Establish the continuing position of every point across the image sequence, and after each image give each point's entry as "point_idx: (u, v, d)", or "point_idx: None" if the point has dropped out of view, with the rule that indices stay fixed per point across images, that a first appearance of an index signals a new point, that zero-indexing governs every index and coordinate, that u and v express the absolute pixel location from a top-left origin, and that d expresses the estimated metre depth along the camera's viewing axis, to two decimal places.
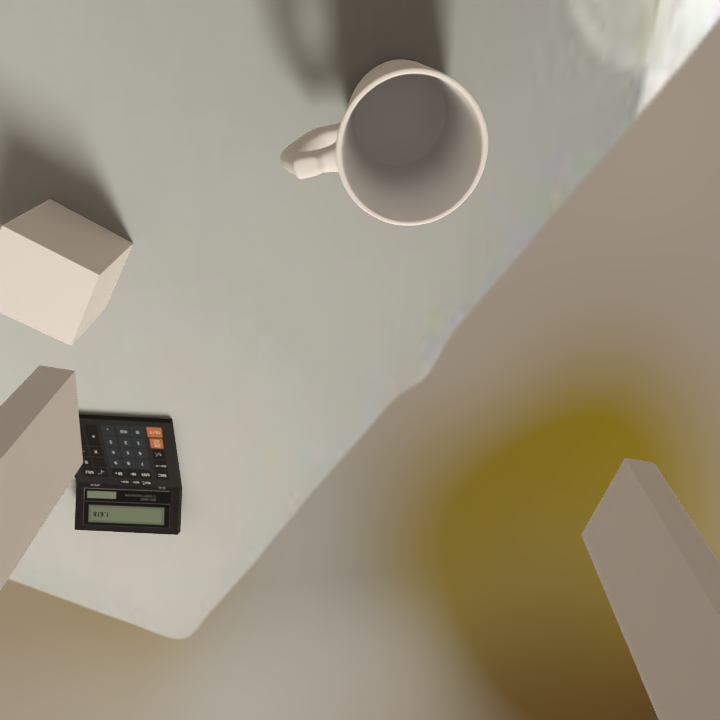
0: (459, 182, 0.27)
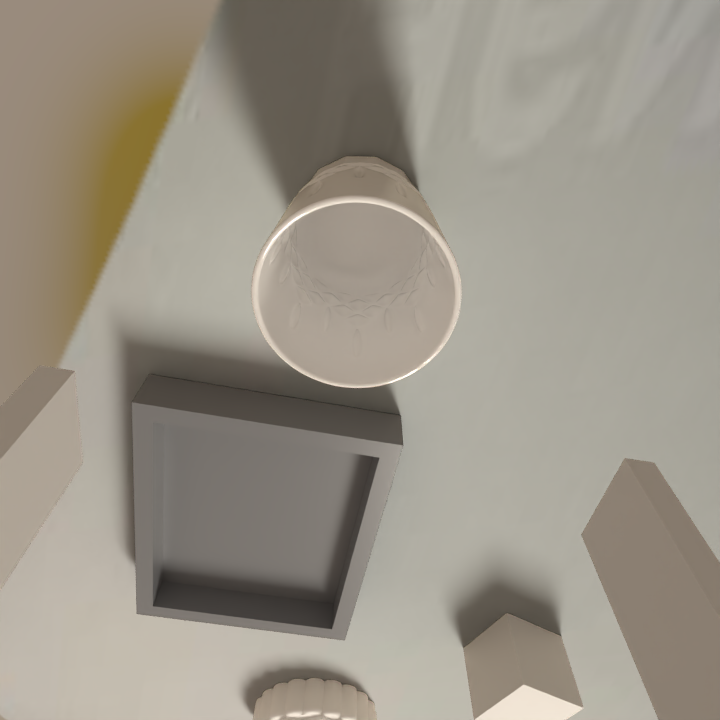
0: None
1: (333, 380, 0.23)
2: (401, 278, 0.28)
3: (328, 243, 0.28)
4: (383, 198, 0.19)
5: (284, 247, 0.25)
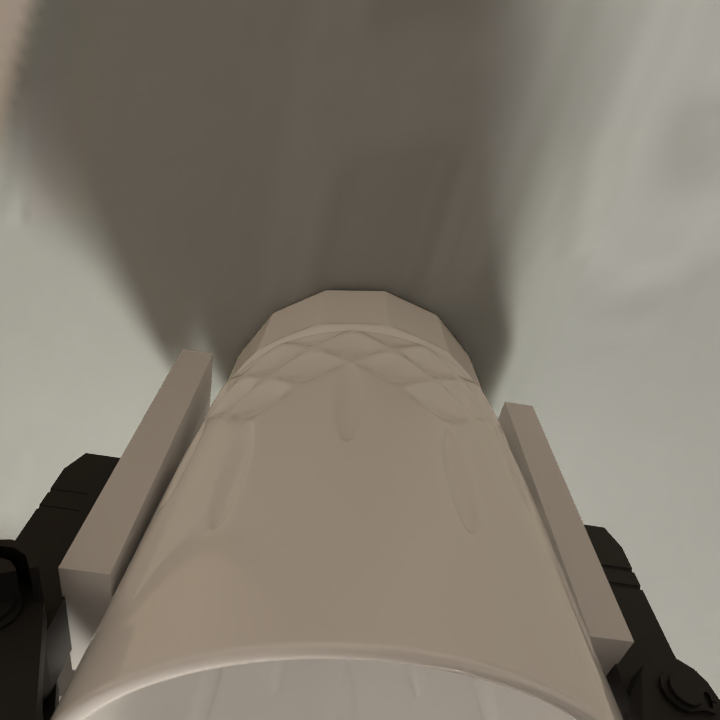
0: None
1: None
2: None
3: None
4: (425, 645, 0.05)
5: None
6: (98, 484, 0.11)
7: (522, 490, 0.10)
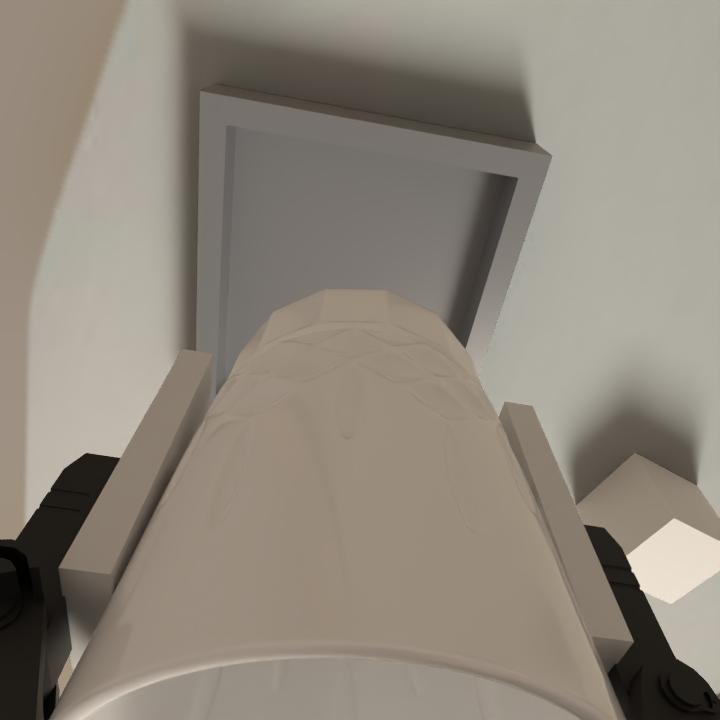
0: None
1: None
2: None
3: None
4: (427, 644, 0.05)
5: None
6: (98, 484, 0.11)
7: (523, 489, 0.10)
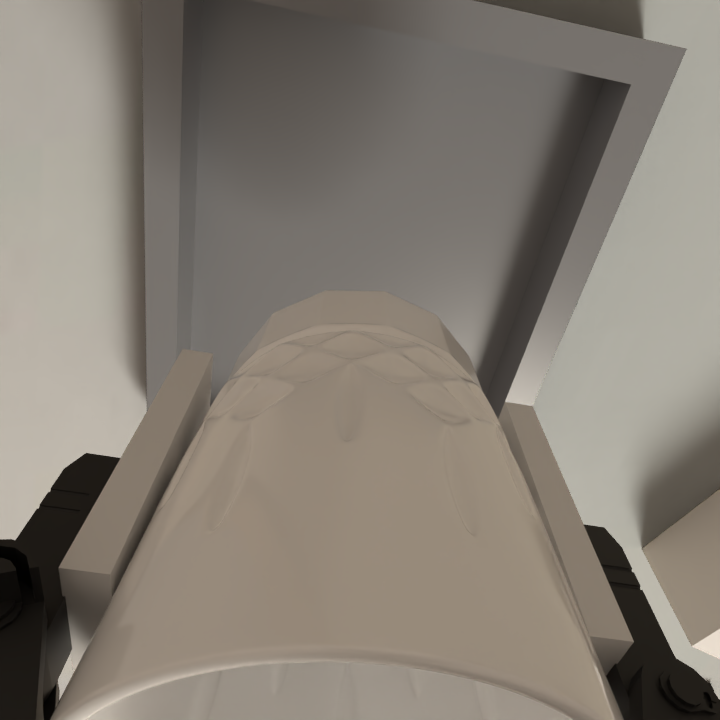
0: None
1: None
2: None
3: None
4: (426, 648, 0.05)
5: None
6: (98, 484, 0.11)
7: (523, 491, 0.10)
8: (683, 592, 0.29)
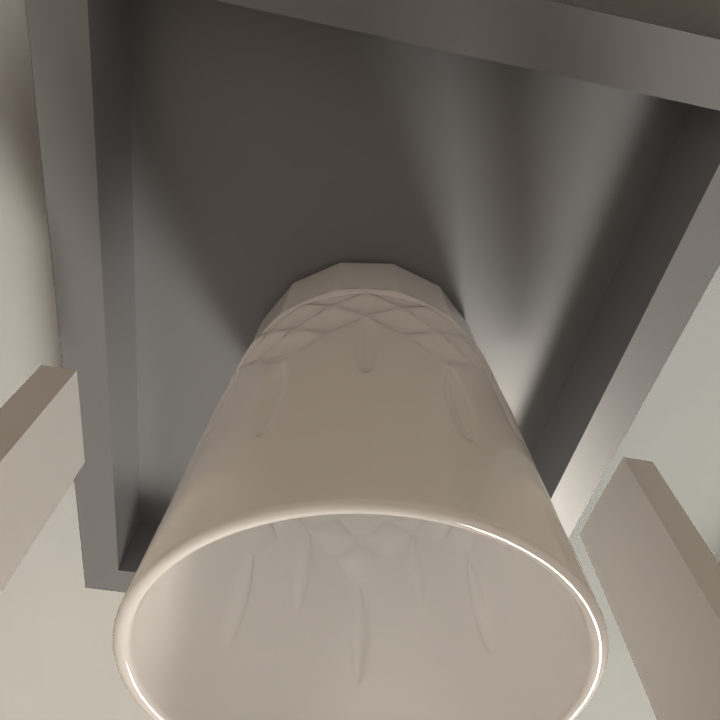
0: None
1: None
2: None
3: None
4: (433, 504, 0.07)
5: None
6: None
7: (512, 424, 0.11)
8: None
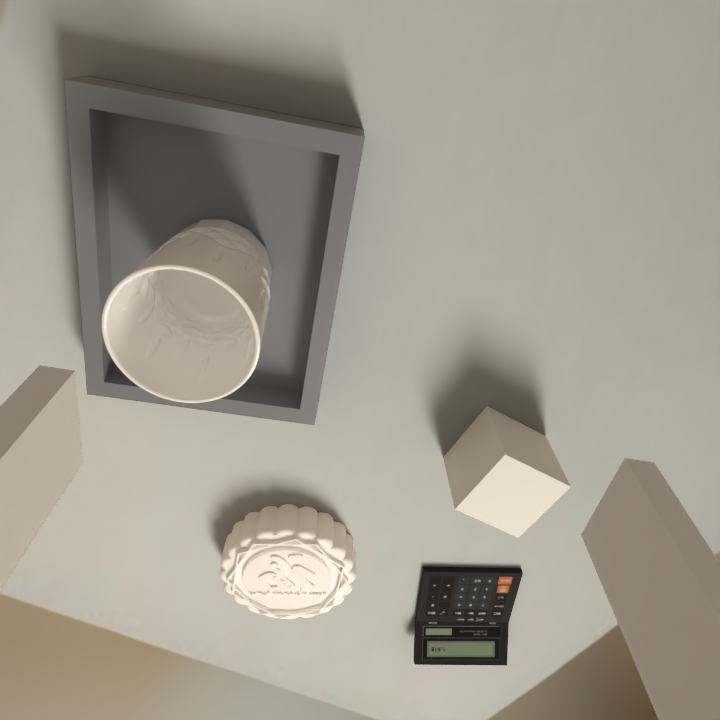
0: None
1: (175, 397, 0.30)
2: None
3: (192, 287, 0.36)
4: (189, 266, 0.26)
5: (144, 294, 0.32)
6: None
7: (250, 270, 0.31)
8: (457, 478, 0.43)
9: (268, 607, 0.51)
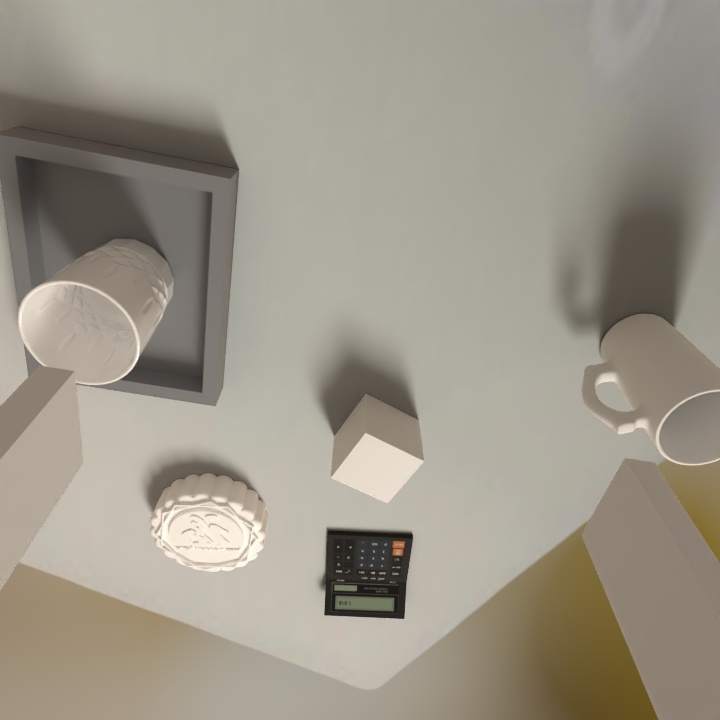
0: None
1: (79, 380, 0.39)
2: None
3: None
4: (79, 281, 0.35)
5: (61, 299, 0.41)
6: None
7: (139, 282, 0.39)
8: (337, 453, 0.51)
9: (193, 560, 0.60)
